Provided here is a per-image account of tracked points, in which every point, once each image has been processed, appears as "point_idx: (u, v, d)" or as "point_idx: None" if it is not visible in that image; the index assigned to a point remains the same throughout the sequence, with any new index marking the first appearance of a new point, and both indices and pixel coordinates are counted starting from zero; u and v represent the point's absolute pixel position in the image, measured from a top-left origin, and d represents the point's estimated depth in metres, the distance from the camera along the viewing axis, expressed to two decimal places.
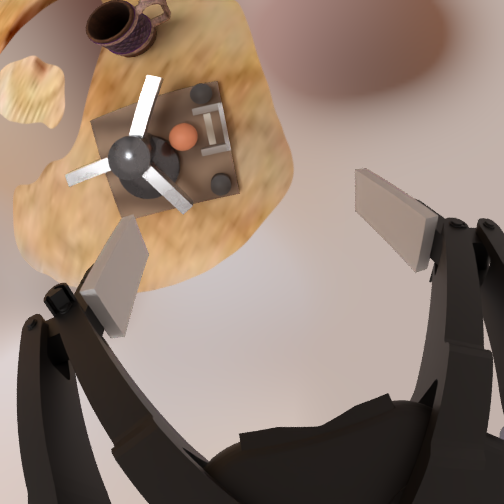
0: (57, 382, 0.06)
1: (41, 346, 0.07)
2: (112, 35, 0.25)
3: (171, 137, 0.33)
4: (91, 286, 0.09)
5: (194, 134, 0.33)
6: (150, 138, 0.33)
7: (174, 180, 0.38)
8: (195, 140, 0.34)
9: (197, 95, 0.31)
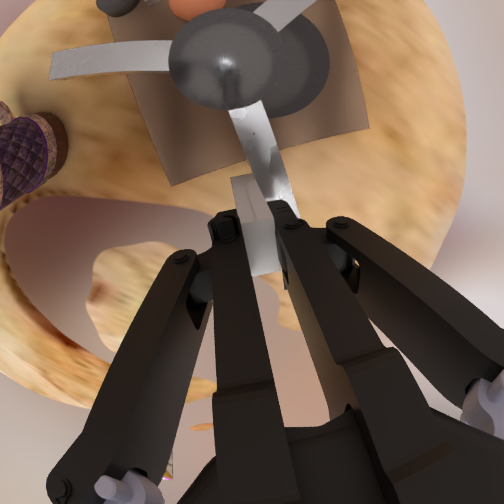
0: (184, 331, 0.08)
1: (183, 288, 0.08)
2: None
3: (195, 7, 0.11)
4: (251, 219, 0.11)
5: None
6: None
7: None
8: None
9: None
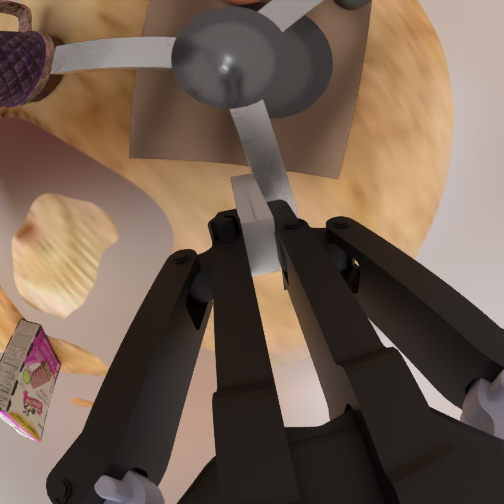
0: (184, 331, 0.08)
1: (183, 288, 0.08)
2: None
3: None
4: (251, 220, 0.11)
5: None
6: None
7: None
8: None
9: None
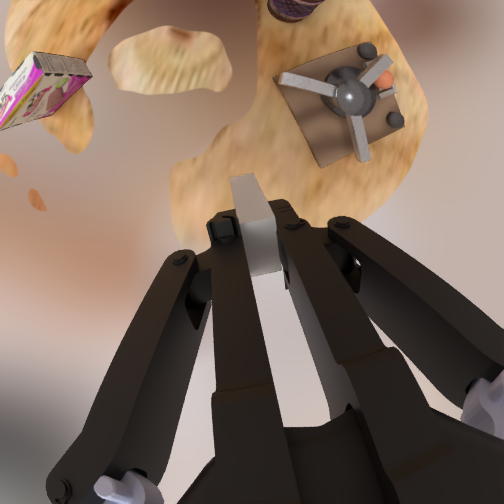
0: (182, 331, 0.08)
1: (182, 288, 0.08)
2: None
3: (380, 78, 0.33)
4: (250, 220, 0.11)
5: (392, 75, 0.33)
6: None
7: (361, 70, 0.34)
8: None
9: (367, 51, 0.32)
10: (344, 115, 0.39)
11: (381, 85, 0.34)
